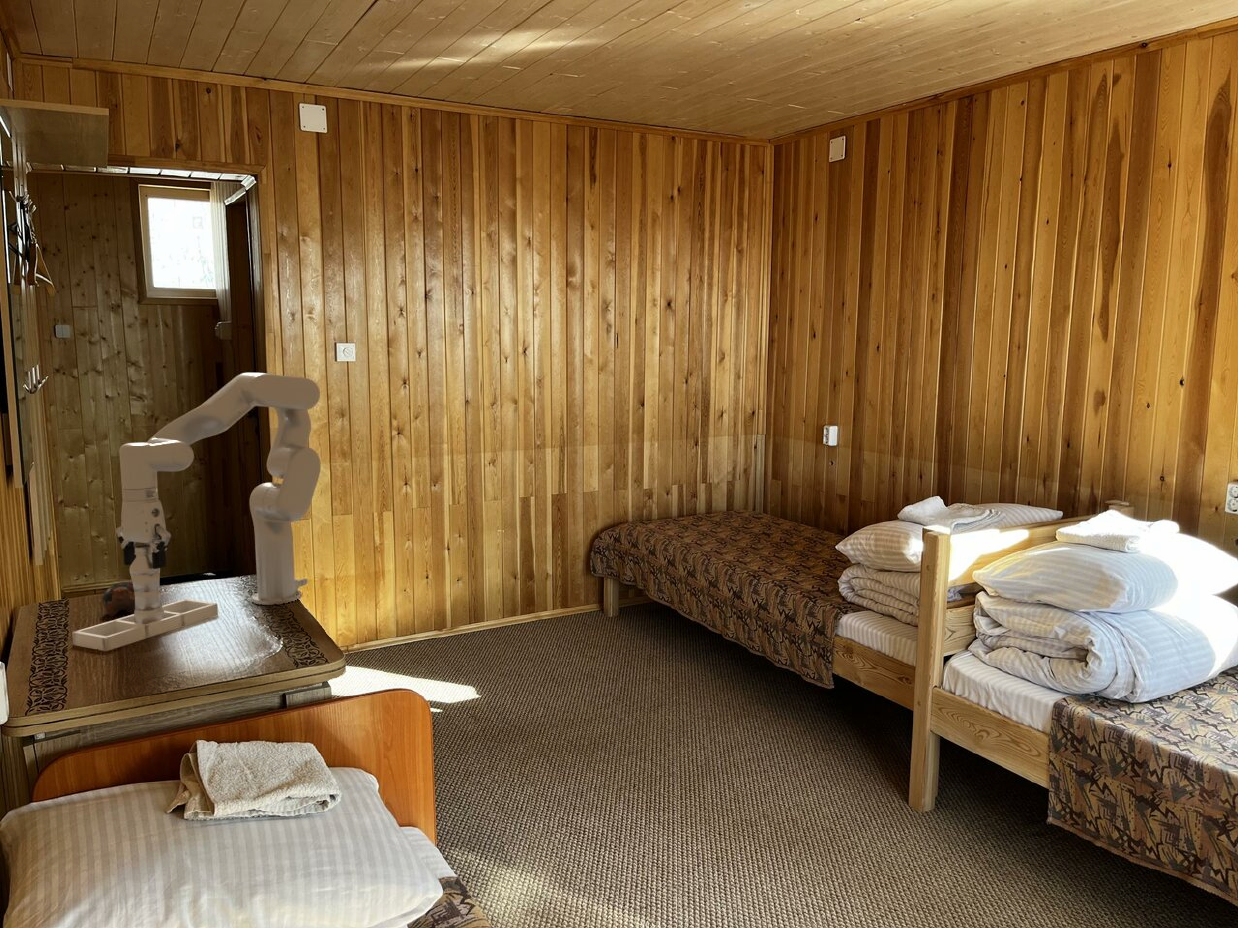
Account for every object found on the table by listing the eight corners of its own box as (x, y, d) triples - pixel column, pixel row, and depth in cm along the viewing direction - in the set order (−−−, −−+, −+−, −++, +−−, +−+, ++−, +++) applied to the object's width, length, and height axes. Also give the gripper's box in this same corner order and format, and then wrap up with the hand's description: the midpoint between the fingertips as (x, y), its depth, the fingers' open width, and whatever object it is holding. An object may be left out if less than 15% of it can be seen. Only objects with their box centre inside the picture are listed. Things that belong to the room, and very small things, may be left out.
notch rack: (186, 610, 239) (186, 598, 238) (217, 615, 234) (217, 603, 234) (73, 644, 211) (72, 632, 210) (106, 651, 206) (105, 638, 206)
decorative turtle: (102, 622, 229) (98, 590, 228) (105, 611, 242) (101, 581, 241) (146, 615, 233) (142, 583, 232) (147, 604, 246) (143, 575, 246)
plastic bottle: (157, 631, 220) (150, 549, 217) (129, 631, 220) (121, 549, 217) (170, 623, 226) (164, 543, 223) (143, 623, 226) (136, 543, 223)
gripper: (179, 495, 218) (184, 565, 221) (129, 490, 226) (133, 559, 228) (152, 499, 212) (157, 572, 214) (100, 495, 219) (106, 565, 221)
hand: (145, 565), depth 221 cm, fingers open, 9 cm apart
